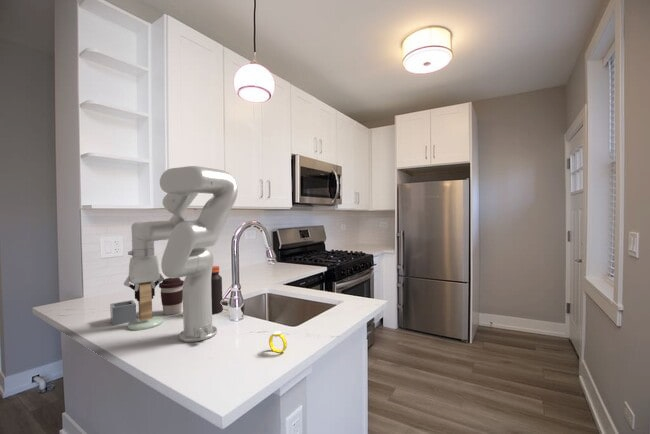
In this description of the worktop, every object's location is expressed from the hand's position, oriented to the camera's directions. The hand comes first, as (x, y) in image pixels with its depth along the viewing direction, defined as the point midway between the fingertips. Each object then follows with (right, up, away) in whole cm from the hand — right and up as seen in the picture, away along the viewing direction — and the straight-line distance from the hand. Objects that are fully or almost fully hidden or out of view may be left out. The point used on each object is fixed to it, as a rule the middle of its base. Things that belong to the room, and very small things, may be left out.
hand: (145, 298), depth 121 cm
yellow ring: (+57, -9, -27) cm, 64 cm away
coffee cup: (+4, -10, +15) cm, 18 cm away
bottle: (+23, -10, +14) cm, 28 cm away
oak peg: (0, -8, 0) cm, 8 cm away
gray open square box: (-12, -10, +5) cm, 17 cm away
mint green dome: (0, -10, 0) cm, 10 cm away
